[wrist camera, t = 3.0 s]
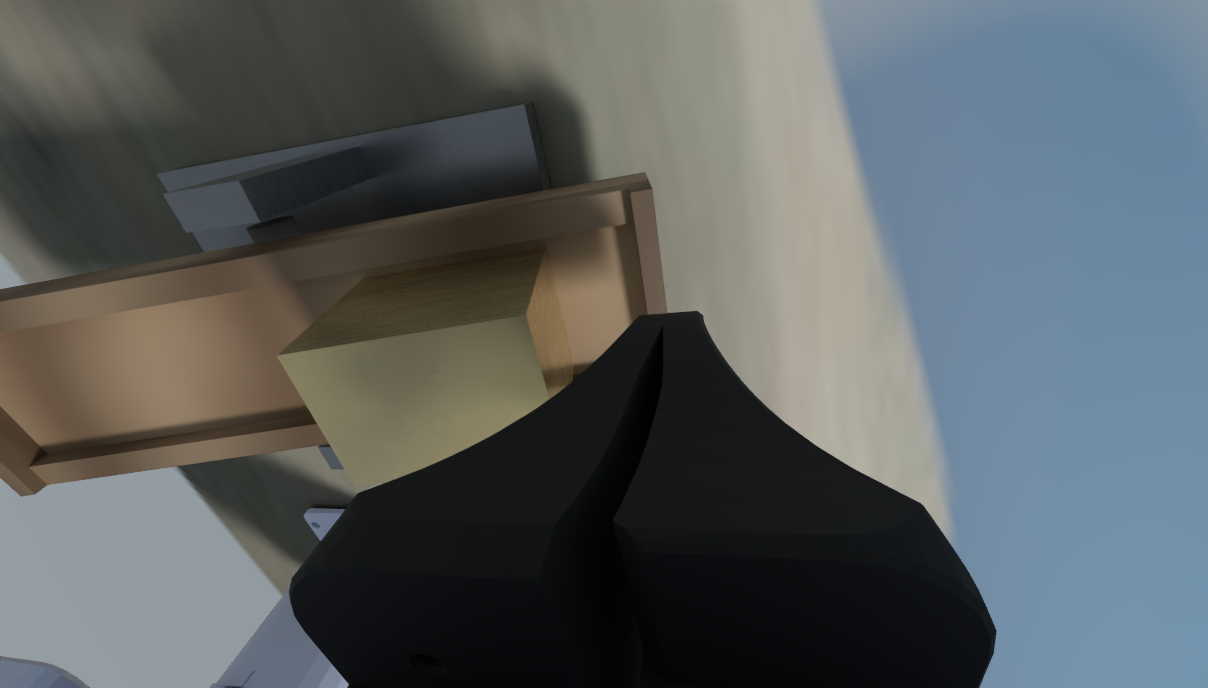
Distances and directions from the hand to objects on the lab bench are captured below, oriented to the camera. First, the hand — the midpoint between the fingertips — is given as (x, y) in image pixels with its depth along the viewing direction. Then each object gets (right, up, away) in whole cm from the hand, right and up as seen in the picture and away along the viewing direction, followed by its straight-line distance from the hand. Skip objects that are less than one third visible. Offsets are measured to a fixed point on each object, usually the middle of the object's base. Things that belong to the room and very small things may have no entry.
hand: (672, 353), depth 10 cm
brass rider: (-5, +1, +3) cm, 6 cm away
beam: (-10, +1, +5) cm, 11 cm away
